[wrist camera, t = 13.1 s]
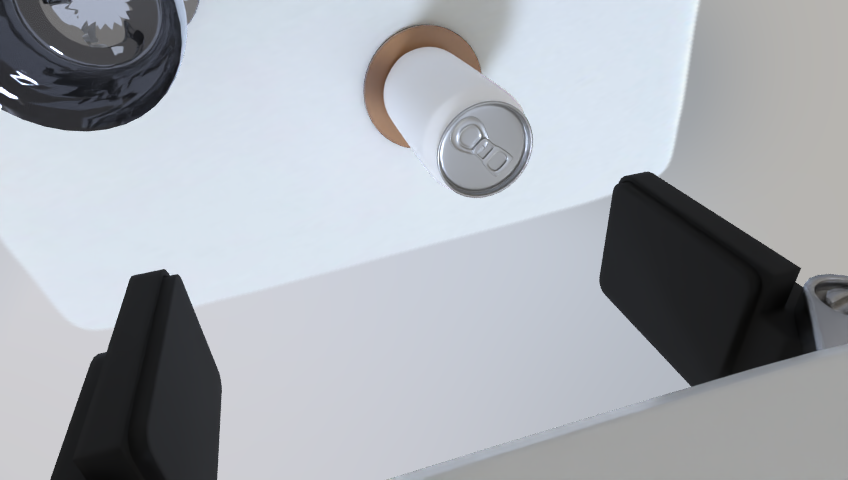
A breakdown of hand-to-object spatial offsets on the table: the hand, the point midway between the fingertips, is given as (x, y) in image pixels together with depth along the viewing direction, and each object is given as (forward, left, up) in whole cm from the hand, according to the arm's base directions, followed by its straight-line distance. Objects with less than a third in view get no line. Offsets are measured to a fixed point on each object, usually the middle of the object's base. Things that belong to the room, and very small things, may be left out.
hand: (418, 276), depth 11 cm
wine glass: (-4, -9, -28) cm, 30 cm away
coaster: (+5, +8, -28) cm, 30 cm away
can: (+5, +8, -28) cm, 30 cm away
